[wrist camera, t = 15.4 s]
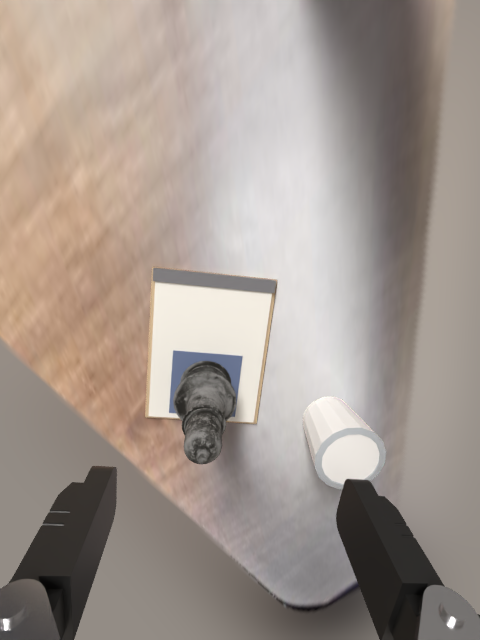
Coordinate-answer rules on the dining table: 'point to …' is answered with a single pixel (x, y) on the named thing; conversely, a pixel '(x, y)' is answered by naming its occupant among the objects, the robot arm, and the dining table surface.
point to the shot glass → (341, 443)
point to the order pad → (207, 335)
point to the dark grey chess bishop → (204, 409)
